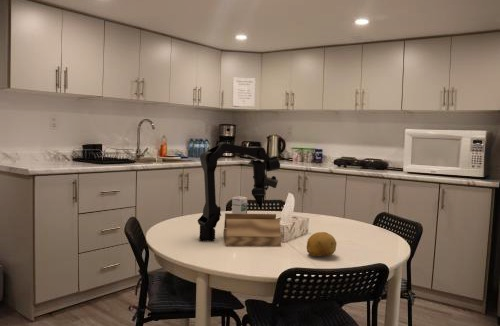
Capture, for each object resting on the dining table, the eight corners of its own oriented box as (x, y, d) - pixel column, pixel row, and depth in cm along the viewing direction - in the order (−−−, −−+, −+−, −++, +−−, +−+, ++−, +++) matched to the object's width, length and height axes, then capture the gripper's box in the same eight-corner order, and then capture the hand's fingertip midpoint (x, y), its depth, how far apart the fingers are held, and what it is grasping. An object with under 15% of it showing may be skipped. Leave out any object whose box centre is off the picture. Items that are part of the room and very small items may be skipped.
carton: (225, 246, 186) (226, 237, 185) (223, 237, 200) (223, 228, 200) (280, 246, 189) (281, 237, 188) (274, 237, 203) (274, 228, 203)
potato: (303, 252, 181) (304, 229, 180) (332, 252, 182) (333, 229, 181) (309, 260, 170) (310, 235, 170) (340, 260, 172) (341, 235, 171)
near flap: (280, 236, 188) (280, 236, 188) (226, 236, 185) (226, 236, 185) (279, 219, 192) (279, 219, 192) (226, 219, 189) (226, 218, 189)
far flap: (224, 228, 200) (224, 227, 200) (274, 228, 203) (274, 228, 203) (225, 214, 196) (225, 213, 197) (276, 214, 199) (276, 213, 200)
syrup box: (240, 226, 223) (241, 198, 221) (231, 224, 226) (232, 196, 225) (246, 224, 227) (247, 197, 226) (238, 222, 231) (239, 195, 230)
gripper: (274, 175, 195) (276, 209, 197) (277, 168, 213) (279, 199, 215) (250, 177, 196) (252, 210, 199) (255, 169, 215) (257, 200, 217)
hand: (261, 204), depth 207 cm, fingers open, 9 cm apart
